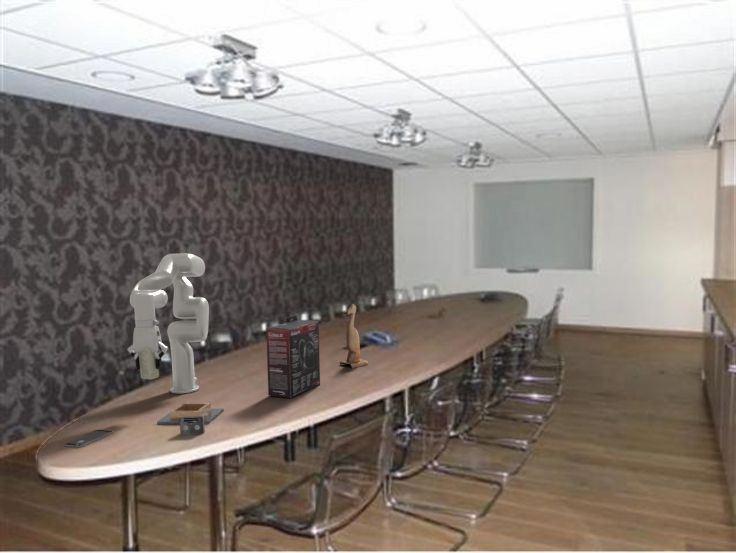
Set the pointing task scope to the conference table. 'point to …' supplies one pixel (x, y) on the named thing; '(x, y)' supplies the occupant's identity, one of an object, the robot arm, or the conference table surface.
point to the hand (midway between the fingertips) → (149, 368)
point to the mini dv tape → (192, 425)
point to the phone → (88, 438)
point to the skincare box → (148, 365)
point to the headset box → (293, 357)
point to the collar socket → (191, 413)
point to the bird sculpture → (353, 342)
